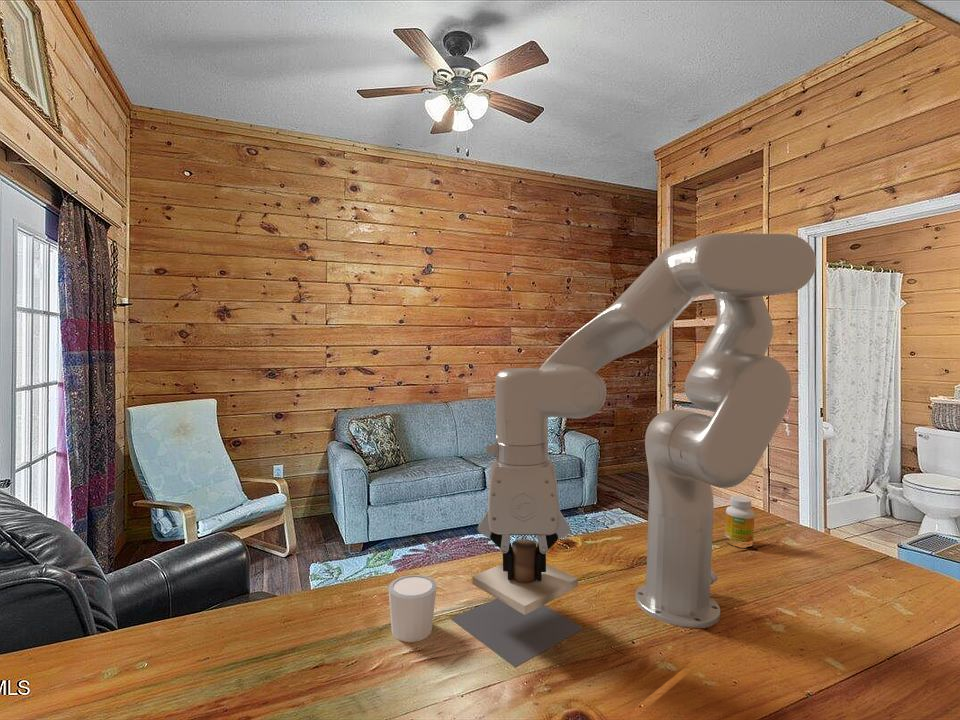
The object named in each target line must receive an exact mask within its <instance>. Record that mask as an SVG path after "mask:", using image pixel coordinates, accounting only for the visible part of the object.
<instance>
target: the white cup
mask: <svg viewBox="0 0 960 720" xmlns="http://www.w3.org/2000/svg"><path fill="white" fill-rule="evenodd" d="M387 588H388V589H387V591H388V600H389V614H390V616H389V617H390V626H391V633H392V636H393V638H395V639H397V640H398V641H401V642H405V643H406V642H407V643H415V642H419V641H422V640H425V639H426V638H428V637H429V636H430V635H431V633H432V630H433V623H434V620H433V619H434V614H435V603H436V594H437V583H436V581H435V579H432V578H431V577H429V576H426V575H421V574H410V575H403V576H400V577H398V578H395V579H394V580H392V581H391V582H390V583H389V585H388V587H387Z"/></svg>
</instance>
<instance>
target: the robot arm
mask: <svg viewBox="0 0 960 720" xmlns="http://www.w3.org/2000/svg"><path fill="white" fill-rule="evenodd" d="M816 268H817V257H816V253H815V250H814V249H813V247H812V245H810V244H809V242H807V241H806V240H805V239H804V238H802V237H800V236H798V235H794V234H789V233H744V232H743V233H742V232H741V233H739V232H738V233H737V232H734V233H733V232H732V233H731V232H728V233H727V232H726V233H725V232H722V233H710V234H706V235H703V236H700V237H695V238H693V239H689V240H686V241H681V242H679V243H676V244H673V245H671V246H669V247H668V248H667V249H665V250H664V251H663V252H661V253H660V254H659V255H658V256H657V257H656V258H655V259H654V260H653V261H652V263H650V265H648V266H647V267H646V269H645V270H644V271H643V272H641V274H640V275H639V276H638V277H637V278H636V279H635V280H634V281H633V282H632V283H631V284H630V285H629V287H628V288H627V289H625V291H624V292H623V293H622V294H621V295H620V296H619V297H618V298H617V299H616V300H615V301H613V303H612V304H611V305H610V306H608V307H607V308H606V309H604V310H603V311H601V312H600V313H599V314H598V315H596V316H594V318H593V319H590V321H589V322H587V323H586V324H585V325H584V326H581V327H580V328H579V329H578V330H577V331H575V332H574V333H572V335H570V337H568V338H567V339H566V340H565V341H564V342H563V343H562V344H561V345H560V346H559V347H558V348H556V350H555V351H554V352H552V354H551V355H550V356H549V357H548V358H547V359H546V360H545V361H544V362H543V363H542V364H541V366H540V367H539V368H532V367H514V368H505V369H502V370H500V371H498V372H497V374H496V375H495V381H494V384H495V385H494V389H495V390H494V391H495V395H494V396H495V398H494V399H495V434H496V435H495V439H496V442H494V444H493V443H492V444H487V445H486V455H491V456H494V458H495V460H493V461H492V463H491V466H490V472H489V478H488V496H487V497H488V500H487V501H488V502H487V506H488V507H487V510H486V512H485V513H484V515H483V517H482V518H481V520H480V522H479V523H478V526H477V532H478V533H479V534H481V535H483V536H484V537H486V538H489V539H490V541H491V542H493V544H495V546H497V548H498V549H500V552H501V553H502V564H503V571H508V580H511V579H513V559H512V542H510V541H511V536H536V537H537V538H536V539H537V542H536V575H537V580H538V581H542V575H541V572H546V564H547V554H548V551H549V549H550V548H552V547H553V546H554V544H556V543H557V541H559V539H562V538H564V537H566V536H568V535H569V534H570V533H571V532H572V531H571V526H570V523H568V521H567V519H566V518H565V515H564V514H563V513H562V511H561V510H560V508H559V507H560V506H559V505H560V502H559V489H558V480H557V473H556V469H555V464H554V462H553V461H552V460H551V459H549V419H548V418H550V417H551V418H563V419H565V418H566V419H574V420H575V419H578V420H579V419H585V418H588V417H591V416H593V415H595V414H597V413H598V412H599V411H600V410H601V409H602V407H603V406H604V404H605V402H606V399H607V387H606V384H605V381H604V380H603V379H602V377H601V376H600V375H599V374H598V373H597V372H598V371H599V370H600V369H601V368H604V366H607V364H609V363H610V362H613V361H614V360H617V359H619V358H621V357H624V356H626V355H629V354H633V353H636V352H638V351H640V350H642V349H645V348H646V347H648V346H651V345H652V344H654V343H655V342H656V341H657V340H658V339H659V338H660V337H661V336H662V335H663V334H664V333H665V331H666V330H667V329H668V328H669V327H670V326H671V325H672V324H673V322H674V321H676V319H677V318H678V317H679V316H680V315H681V314H682V313H683V312H684V311H685V310H686V309H687V308H688V307H689V306H690V305H691V304H692V303H693V302H694V300H696V299H697V298H699V297H702V296H709V295H713V297H714V301H715V304H716V310H717V315H716V316H717V318H716V322H715V325H714V326H713V329H712V331H711V333H710V334H709V336H708V337H707V340H706V342H705V343H704V345H703V347H702V348H701V350H700V352H699V354H698V355H697V357H696V359H695V360H694V361H693V365H691V368H690V370H689V372H688V373H687V376H686V378H685V382H684V393H685V396H686V398H687V399H688V401H689V402H691V404H693V405H695V406H696V407H697V408H700V409H702V410H705V411H708V412H709V411H710V412H713V414H712V416H710V415H706V414H702V413H699V412H694V411H690V410H684V409H669V410H666V411H663V412H660V413H658V414H657V415H655V417H653V419H652V420H650V423H649V425H648V426H647V429H646V432H645V436H644V447H645V456H646V461H647V463H646V464H647V468H648V469H647V470H648V471H647V472H648V484H649V486H648V487H649V488H648V489H649V490H648V492H649V493H648V512H647V515H648V516H647V543H646V545H647V546H646V570H645V571H646V575H645V576H646V577H645V583H643V584H642V585H641V586H639V587H637V589H636V590H635V602H636V604H637V606H638V607H639V608H640V609H641V610H642V611H643V612H644V613H646V614H647V615H649V616H650V617H652V618H654V619H656V620H658V621H661V622H663V623H666V624H668V625H672V626H676V627H681V628H689V629H691V628H692V629H693V628H694V629H697V628H698V629H700V628H702V629H706V627H707V628H710V627H709V626H711V627H713V626H715V625H716V624H717V623H718V622H719V621H720V619H721V607H720V605H719V604H718V603H717V601H716V600H715V599H714V598H713V597H712V596H711V586H712V585H713V584H714V583H716V582H717V581H718V575H717V573H716V572H715V571H714V570H712V555H713V554H712V553H713V552H712V551H713V530H714V528H713V527H714V513H715V512H714V511H715V510H714V507H715V506H714V505H715V503H714V494H713V490H712V487H716V488H721V489H723V488H724V489H727V488H733V487H736V486H738V485H740V484H741V483H743V482H744V481H745V480H747V478H748V477H749V476H750V475H752V473H753V471H754V470H755V469H756V467H757V466H758V463H759V462H760V461H761V459H762V456H763V455H764V453H765V452H766V449H767V448H768V446H769V444H770V443H771V440H772V439H773V437H774V435H775V433H776V432H777V430H778V428H779V426H780V424H781V422H782V420H783V419H784V416H785V414H786V413H787V410H788V408H789V407H790V402H791V398H792V379H791V376H790V374H789V372H788V370H787V368H786V367H785V365H783V364H782V363H781V362H780V361H778V360H777V359H775V358H773V357H771V356H769V355H766V353H767V350H768V349H769V346H770V344H771V342H772V339H773V335H774V326H773V320H772V318H771V314H770V313H769V310H768V307H767V304H766V301H765V299H764V297H769V296H778V295H786V294H791V293H792V294H793V293H794V292H796V291H799V290H800V289H803V288H804V287H805V286H806V285H808V283H809V282H810V281H811V280H812V278H813V276H814V274H815V273H816ZM719 618H720V619H719ZM718 620H719V621H718ZM715 623H716V624H715ZM714 624H715V625H714ZM712 625H713V626H712Z"/></svg>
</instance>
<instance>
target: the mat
mask: <svg viewBox="0 0 960 720" xmlns="http://www.w3.org/2000/svg"><path fill="white" fill-rule="evenodd" d="M449 619H450V620H451V621H452V622H453V623H455V624H456V625H458V626H459V627H461V628H462V629H463V630H464V631H466V632H467V633H469V635H471V636H472V637H474V638H475V639H476V640H478V641H479V642H481V643H482V644H483V645H484V646H485V647H487V648H489V649H490V650H491V651H493V652H494V653H495V654H496V655H498V656H499V657H500V658H502V659H503V660H505V661H506V662H508V664H510V665H511V666H512V667H514V668H517V667H518V666H520V665H522V664H523V663H526V662H527V661H529V660H531V659H533V658H534V657H536V656H539V654H542V653H543V652H545V651H547V650H549V649H551V648H552V647H554V646H556V645H558V644H560V643H561V642H562V641H565V640H567V639H568V638H570V637H572V636H573V635H575V634H577V633H579V632H581V631H582V630H584V629H585V627H584V626H581V625H580V624H578V623H576V621H575V622H574V621H573V620H571V619H570V618H567V617H566V616H564V615H563V614H561V613H559V612H557V611H555V610H554V609H552V608H550V607H549V606H547V605H546V604H545V605H543V606H541V607H539V608H537V609H535V610H533V611H531V612H530V613H528V614H526V615H524V614H522V613H521V612H519V611H517V610H515V609H514V608H512V607H510V606H509V605H507V604H505V603H504V602H502V601H500V600H499V599H497V598H495V599H492V600H489V601H488V602H485V603H482V604H480V605H478V606H476V607H474V608H471V609H469V610H466V611H464V612H461V613H459V614H457V615H454V616H452V617H450V618H449Z"/></svg>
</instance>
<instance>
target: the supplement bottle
mask: <svg viewBox="0 0 960 720" xmlns="http://www.w3.org/2000/svg"><path fill="white" fill-rule="evenodd" d="M729 504H730V505H729V506H727V507H726V508H725V509H726V510H725V525H724V526H725V527H724V537H725V536H726V537H727V538H729V539H731V540H735V541H741V542H750V541H753V542H754V534H755V533H754V532H755V531H754V530H755V512H754V511H753V510H752V509H751V508H752V499H750V498H749V497H745V496H739V495H731V496H730V497H729Z"/></svg>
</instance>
